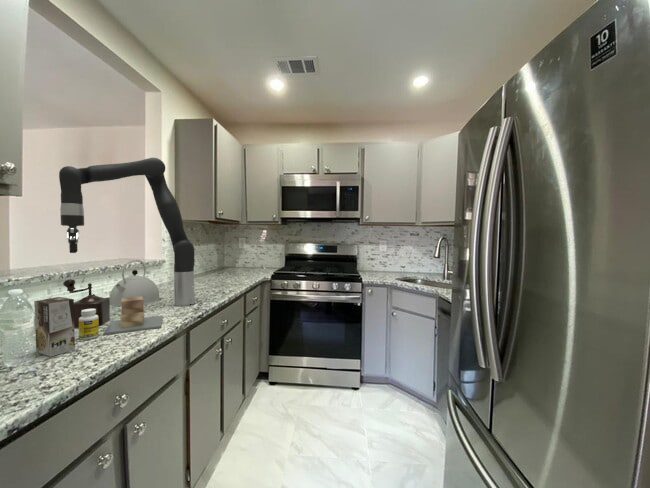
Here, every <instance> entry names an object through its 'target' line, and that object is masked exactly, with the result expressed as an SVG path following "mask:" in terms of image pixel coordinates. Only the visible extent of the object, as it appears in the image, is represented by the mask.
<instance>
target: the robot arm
mask: <svg viewBox="0 0 650 488" xmlns="http://www.w3.org/2000/svg"><path fill="white" fill-rule="evenodd" d="M165 172H166V165H165V162H164V161H163V160H162V159H159V158H158V157H149V158H144V159H141V160H136V161H131V162H129V161H128V162H121V163H108V164H106V163H105V164H98V165H97V164H96V165H90V166H87V167H81V168H76V167H74V166H71V165H69V166H68V165H66V166H63V167H62V168H60V170H59V172H58V174H59V175H58V179H59V186H60V209H59V210H60V225H61V226H63V227H64V226H65V227H66V226H67V227H68V228H67V229H66V237H67V242H68V245H69V246H68V248H69V253H70V254H76V253H77V252H78V243H79V240H80V230H79V229H78V228H77V227H83V226H85V210H84V205H83V203H84V201H83V200H84V199H83V198H84V195H83V192H82V185H84V184H89V183H94V182H95V183H97V182H98V183H99V182H107V181H108V182H109V181H115V180H116V181H117V180H120V179H121V180H122V179H124V178H129V177H137V176H145V178H146V180H147V182H148V184H149V186H150V189H151V191H152V194H153V197H154V201H155V205H156V208H157V211H158V213H159V216H160V218H161V221H162V222H163V225H164V227H165V228H166V230H167V232H168V235H169V237H170V241H171V244H172V249H173V250H172V251H173V253H174V258H173V259H174V260H173V262H174V264H173V281H174V282H173V283H174V285H173V286H174V287H173V289H174V291H173V292H174V293H173V295H174V296H173V297H174V303H173V304H174V306H175V307H186V306H191V305H195V275H194V274H195V268H194V267H195V247H194V245H193V243H192V242H191V241H190V240H189V238H188V237H187V234H186V232H185V231H186V230H185V229H184V223H183V218H182V214H181V209H180V207H179V204H178V202H177V200H176V198H175V196H174V195H173V193H172V192H171V191H170V189H169V187H168V184H167V181H166V178H165V174H164V173H165ZM190 304H191V305H190Z"/></svg>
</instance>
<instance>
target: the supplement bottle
mask: <svg viewBox="0 0 650 488" xmlns="http://www.w3.org/2000/svg"><path fill="white" fill-rule="evenodd" d="M95 313H96V309H85V310H82V311H81V315H82V316H81V317H80V318H79V328H78V339H79V340H83V341H84V340H85V341H87V340H92V339H95V338H97V337H98V336H99V333H100V330H99V327H100V326H99V318H98V315H95Z"/></svg>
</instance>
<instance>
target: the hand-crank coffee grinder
mask: <svg viewBox="0 0 650 488" xmlns="http://www.w3.org/2000/svg"><path fill="white" fill-rule="evenodd" d="M75 284H76V280H75V279H71V278H70V279H67V280H66V279H65V280H63V283H62V285H63V286H64V287H65V288H66V291H67V292H69V294H74V293H79V292H85V291H87V290H88V295H86V296H84V297H82V298H80V299H79V300H76V301H74V329H79V318H80V317H81V316H82V315H81V311H82V310H85V309H96V313H95V315H98V318H99V327H101V326H103V325H104V324H106V323H107V322H109V321H110V320H111V316H110V315H111V313H110V312H111V309H110V307H111V305H110V297H103V296H98V295H96V294H95V293H93V294H92V289H93V285H92V283H91V282H90V283H88V284H87V287H86V288H81V289H77V288H76V287H75Z"/></svg>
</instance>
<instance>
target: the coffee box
mask: <svg viewBox="0 0 650 488" xmlns="http://www.w3.org/2000/svg"><path fill="white" fill-rule="evenodd" d="M33 302H34V327H35V328H34V330H35V347H36V349H35V351H36V353H39V354H41V355H44V356H47V357H54V356H58V355H61V354H64V353H69V352H72V351H75V349H76V346H75V345H76V342H75V341H76V339H75V338H76V337H75V336H76V335H75V328H74V302H75V299H74V298H68V297H62V296H56V297H50V298H44V299H40V300H35V301H33Z"/></svg>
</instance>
